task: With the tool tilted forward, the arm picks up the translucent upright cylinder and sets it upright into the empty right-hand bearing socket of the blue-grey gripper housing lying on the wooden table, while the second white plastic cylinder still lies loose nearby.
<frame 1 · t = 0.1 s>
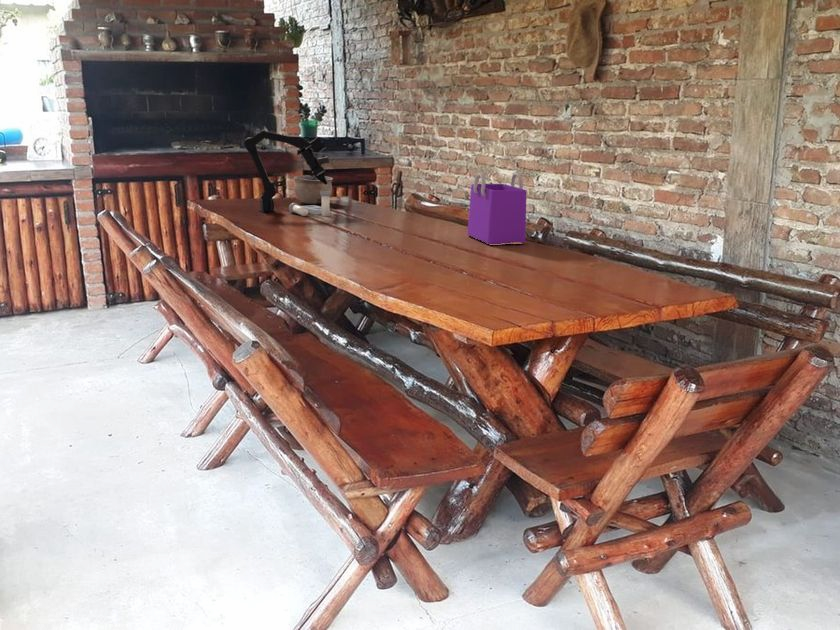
hand: (326, 183, 435), 15 cm above the table, fingers open, 9 cm apart
white plastic cylinder: (298, 214, 427), on the table
ceramic bowl: (313, 203, 470), on the table
housing: (314, 212, 437), on the table
translucent upright cylinder: (325, 215, 425), on the table
shopping bag: (495, 241, 366), on the table
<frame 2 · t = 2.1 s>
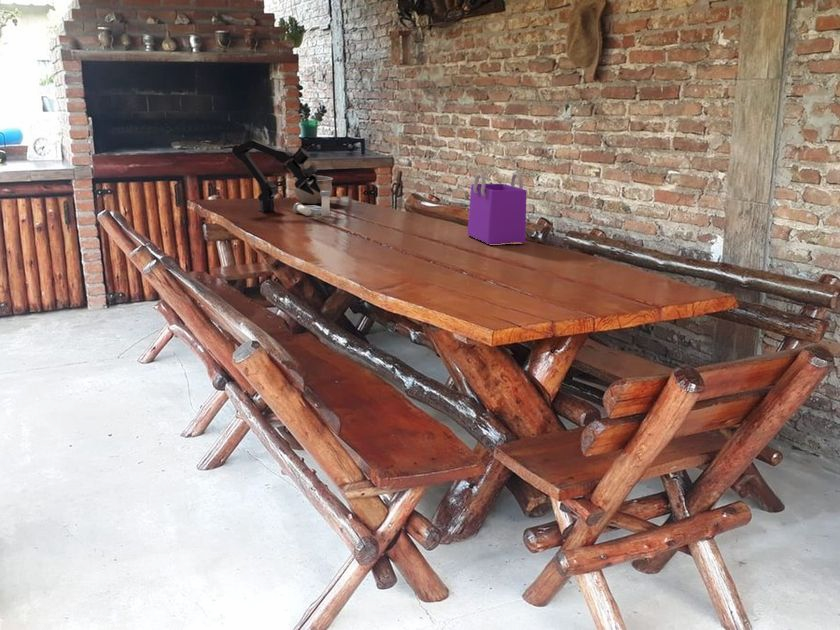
hand: (317, 193, 424), 11 cm above the table, fingers open, 9 cm apart
white plastic cylinder: (298, 212, 426), point 1 cm above the table, tilted 58°
everything else where it was.
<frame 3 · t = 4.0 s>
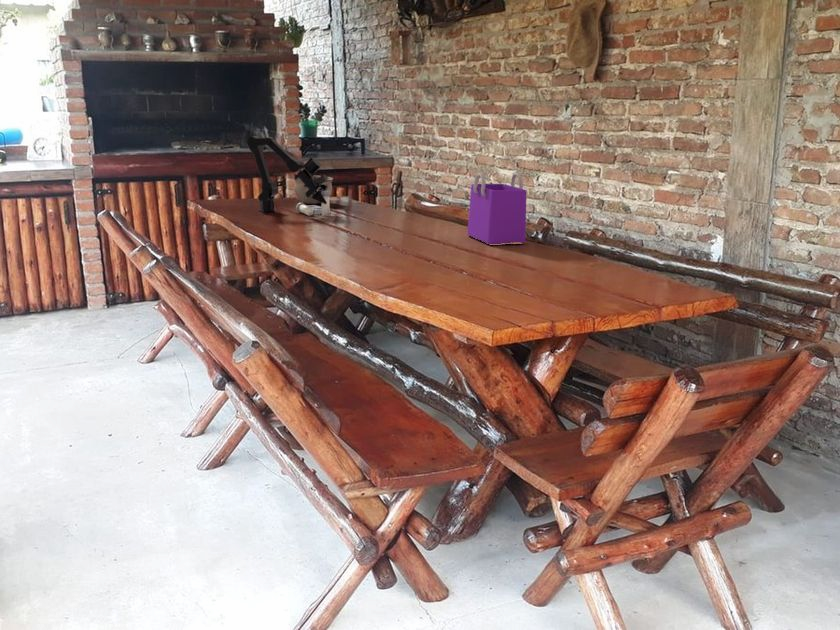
hand: (328, 203, 423), 7 cm above the table, fingers closed on translucent upright cylinder, 4 cm apart
white plastic cylinder: (300, 209, 427), point 2 cm above the table, tilted 89°
translucent upright cylinder: (325, 215, 425), on the table, touching gripper
everything else where it was.
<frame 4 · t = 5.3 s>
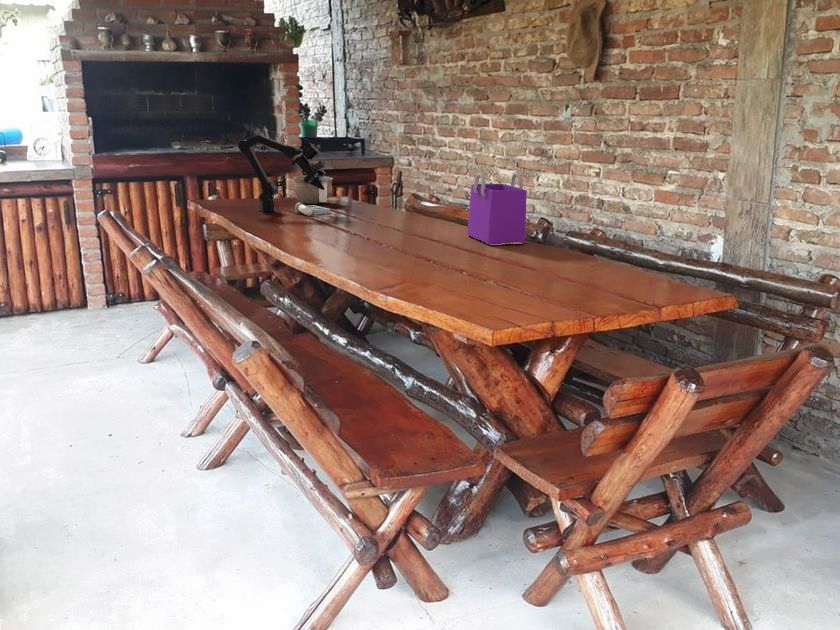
hand: (325, 188, 425), 13 cm above the table, fingers closed on translucent upright cylinder, 4 cm apart
white plastic cylinder: (299, 211, 426), point 2 cm above the table, tilted 76°
translucent upright cylinder: (322, 201, 427), point 7 cm above the table, touching gripper
everything else where it was.
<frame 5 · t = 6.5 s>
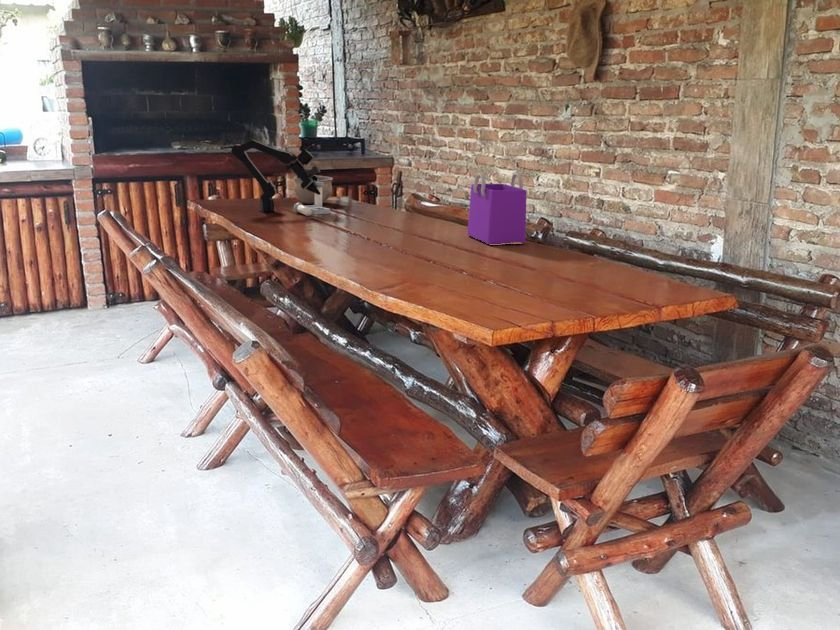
hand: (320, 193, 431), 10 cm above the table, fingers closed on translucent upright cylinder, 4 cm apart
white plastic cylinder: (299, 212, 426), point 1 cm above the table, tilted 62°
translucent upright cylinder: (318, 206, 433), point 4 cm above the table, touching gripper
everything else where it was.
when the fingers open (9 cm above the table, at t = 7.1 s): translucent upright cylinder drops 2 cm, resting on housing.
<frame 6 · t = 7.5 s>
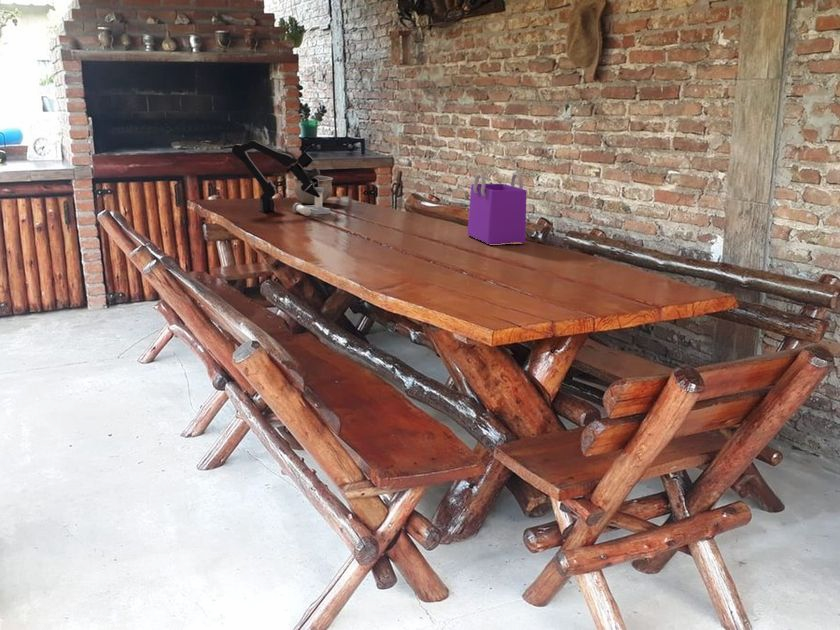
hand: (321, 196, 431), 9 cm above the table, fingers open, 8 cm apart
white plastic cylinder: (298, 213, 426), point 1 cm above the table, tilted 51°
translucent upright cylinder: (318, 211, 434), point 1 cm above the table, touching housing
everything else where it was.
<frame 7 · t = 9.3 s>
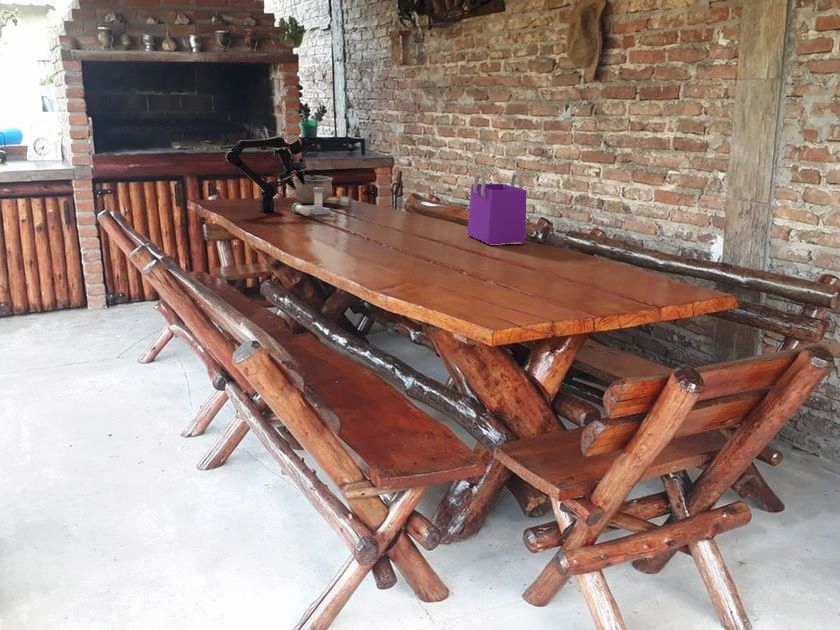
hand: (299, 186, 433), 13 cm above the table, fingers open, 9 cm apart
white plastic cylinder: (298, 213, 426), on the table, tilted 39°
everything else where it was.
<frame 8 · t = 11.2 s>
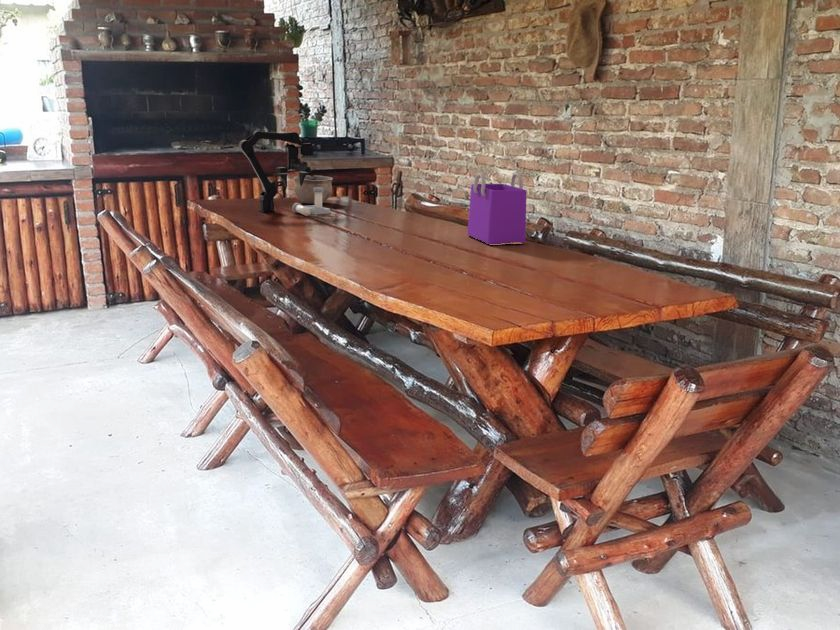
hand: (293, 186, 436), 13 cm above the table, fingers open, 9 cm apart
nothing on the table moved.
at the end: translucent upright cylinder 0.1 cm from the target spot on the housing, point 0.6 cm above the housing's base; translucent upright cylinder tilted 0°; the gripper is holding nothing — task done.
